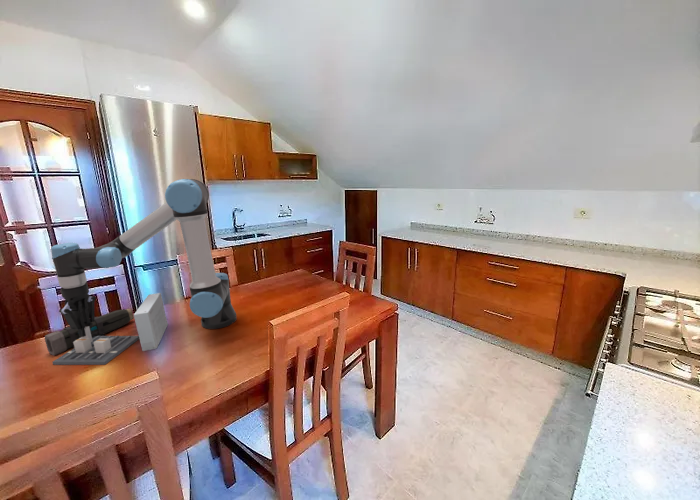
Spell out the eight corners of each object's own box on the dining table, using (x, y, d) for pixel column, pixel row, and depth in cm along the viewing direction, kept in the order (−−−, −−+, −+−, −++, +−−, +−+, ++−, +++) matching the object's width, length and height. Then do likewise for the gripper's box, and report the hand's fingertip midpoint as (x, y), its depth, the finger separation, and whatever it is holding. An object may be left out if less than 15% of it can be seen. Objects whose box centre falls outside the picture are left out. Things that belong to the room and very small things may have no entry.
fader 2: (111, 348, 115) (109, 338, 114) (105, 353, 112) (102, 342, 111) (102, 348, 115) (99, 338, 114) (95, 353, 112) (93, 342, 111)
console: (139, 338, 125) (138, 334, 124) (105, 364, 107) (103, 359, 107) (94, 338, 125) (93, 334, 125) (53, 364, 108) (51, 359, 107)
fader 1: (92, 348, 115) (89, 337, 114) (85, 352, 112) (82, 341, 111) (82, 348, 115) (80, 337, 114) (75, 352, 112) (73, 341, 111)
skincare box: (154, 327, 134) (148, 294, 131) (168, 324, 136) (162, 292, 132) (140, 351, 115) (132, 314, 111) (156, 349, 117) (149, 311, 113)
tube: (138, 329, 138) (54, 356, 111) (130, 329, 141) (45, 357, 114) (134, 306, 138) (48, 328, 111) (125, 307, 141) (39, 329, 113)
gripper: (79, 279, 116) (92, 333, 122) (46, 291, 104) (62, 351, 109) (98, 279, 116) (110, 333, 122) (67, 291, 104) (82, 351, 109)
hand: (87, 342), depth 116 cm, fingers closed
